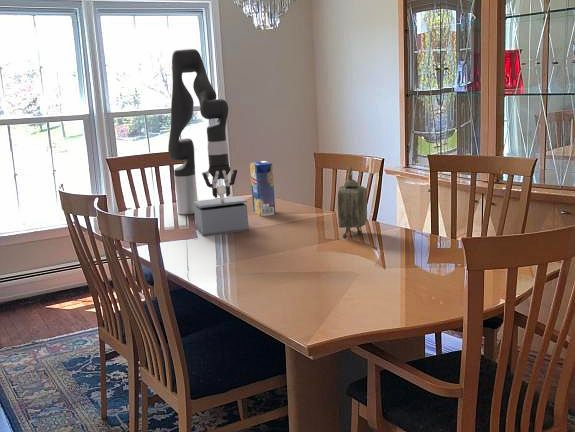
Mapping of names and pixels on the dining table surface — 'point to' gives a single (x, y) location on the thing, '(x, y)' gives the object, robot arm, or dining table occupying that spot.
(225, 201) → the lid flap
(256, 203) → the beverage box
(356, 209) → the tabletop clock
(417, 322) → the dining table surface
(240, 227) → the carton
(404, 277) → the dining table surface
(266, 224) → the dining table surface
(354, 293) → the dining table surface
